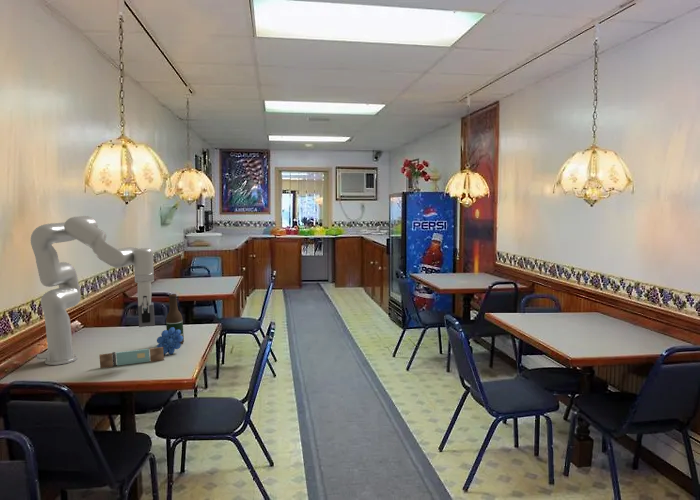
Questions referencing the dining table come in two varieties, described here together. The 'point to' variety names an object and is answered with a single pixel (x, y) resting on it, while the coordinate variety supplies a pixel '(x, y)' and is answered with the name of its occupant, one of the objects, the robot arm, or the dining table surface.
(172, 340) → the grapes
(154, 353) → the brown wooden block
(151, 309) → the doorstop block
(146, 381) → the dining table surface
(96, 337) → the dining table surface
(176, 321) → the beer bottle
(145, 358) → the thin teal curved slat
